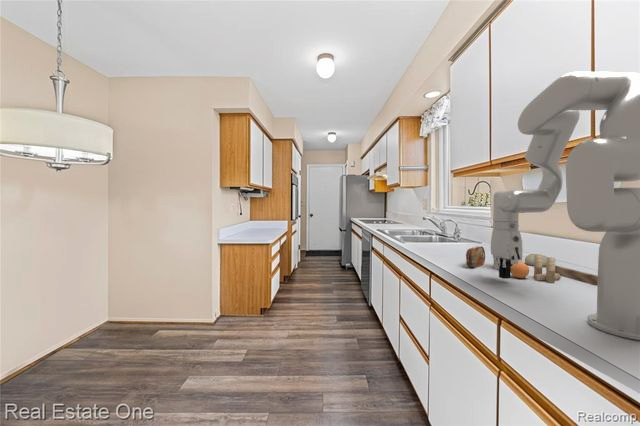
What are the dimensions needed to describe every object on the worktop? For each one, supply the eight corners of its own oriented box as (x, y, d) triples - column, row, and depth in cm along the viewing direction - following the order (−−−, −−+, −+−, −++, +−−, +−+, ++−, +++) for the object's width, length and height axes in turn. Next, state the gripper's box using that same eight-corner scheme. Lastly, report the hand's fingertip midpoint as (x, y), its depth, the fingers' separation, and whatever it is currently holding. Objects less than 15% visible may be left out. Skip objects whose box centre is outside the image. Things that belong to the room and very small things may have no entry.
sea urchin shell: (540, 258, 134) (548, 248, 128) (548, 273, 128) (557, 263, 123) (518, 258, 135) (526, 248, 129) (526, 273, 129) (534, 263, 123)
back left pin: (543, 279, 106) (544, 255, 106) (537, 279, 106) (538, 256, 106) (538, 277, 109) (538, 254, 108) (532, 277, 109) (532, 254, 108)
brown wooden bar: (606, 286, 96) (606, 277, 96) (601, 286, 96) (602, 277, 96) (551, 271, 116) (551, 264, 116) (548, 272, 116) (548, 264, 116)
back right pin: (556, 282, 101) (557, 258, 101) (550, 283, 101) (550, 258, 101) (550, 281, 104) (551, 257, 103) (544, 281, 104) (544, 257, 103)
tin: (472, 269, 122) (472, 249, 122) (464, 268, 125) (464, 248, 124) (485, 264, 132) (486, 245, 132) (478, 263, 134) (478, 244, 134)
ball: (519, 255, 109) (519, 264, 105) (533, 266, 108) (534, 275, 104) (506, 264, 113) (505, 272, 108) (519, 274, 112) (519, 284, 108)
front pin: (539, 281, 103) (560, 280, 105) (539, 275, 103) (560, 273, 104) (533, 279, 106) (554, 278, 107) (533, 273, 106) (554, 272, 107)
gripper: (533, 228, 95) (531, 283, 96) (500, 224, 110) (499, 272, 111) (511, 228, 95) (510, 284, 95) (481, 224, 109) (480, 273, 110)
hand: (504, 277), depth 103 cm, fingers closed
